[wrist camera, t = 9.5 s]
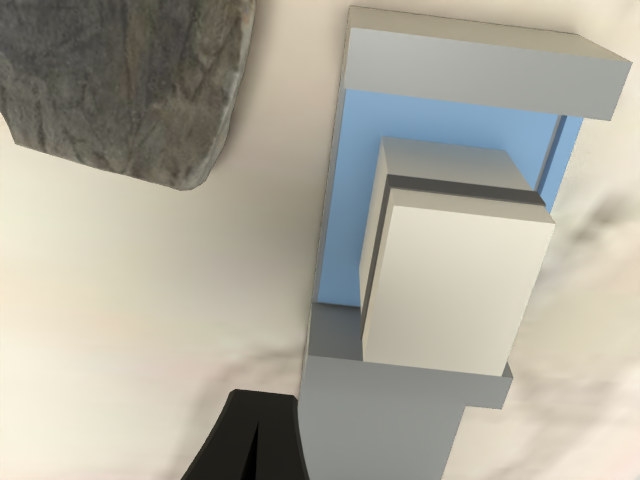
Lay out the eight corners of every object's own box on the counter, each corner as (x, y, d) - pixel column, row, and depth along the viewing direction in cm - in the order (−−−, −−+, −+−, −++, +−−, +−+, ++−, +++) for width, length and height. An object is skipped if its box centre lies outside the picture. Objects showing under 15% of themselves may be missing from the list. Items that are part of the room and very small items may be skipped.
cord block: (469, 281, 21) (502, 377, 16) (357, 268, 21) (361, 362, 16) (507, 149, 18) (559, 222, 14) (380, 134, 18) (392, 203, 14)
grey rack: (436, 503, 29) (448, 580, 25) (287, 487, 28) (279, 563, 25) (593, 36, 17) (652, 65, 14) (349, 5, 17) (351, 27, 14)
